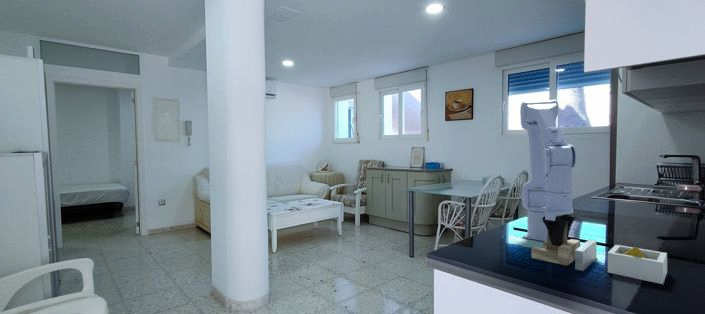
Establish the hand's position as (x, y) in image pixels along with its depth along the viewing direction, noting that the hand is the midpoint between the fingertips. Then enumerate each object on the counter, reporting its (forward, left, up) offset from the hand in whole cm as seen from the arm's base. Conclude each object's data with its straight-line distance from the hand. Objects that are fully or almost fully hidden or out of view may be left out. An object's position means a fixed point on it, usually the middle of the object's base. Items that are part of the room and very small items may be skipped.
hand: (559, 243), depth 82 cm
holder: (-1, +15, -4) cm, 15 cm away
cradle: (0, -1, -4) cm, 4 cm away
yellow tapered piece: (-1, +15, -4) cm, 16 cm away
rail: (0, +6, -4) cm, 7 cm away
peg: (0, -1, -3) cm, 4 cm away
